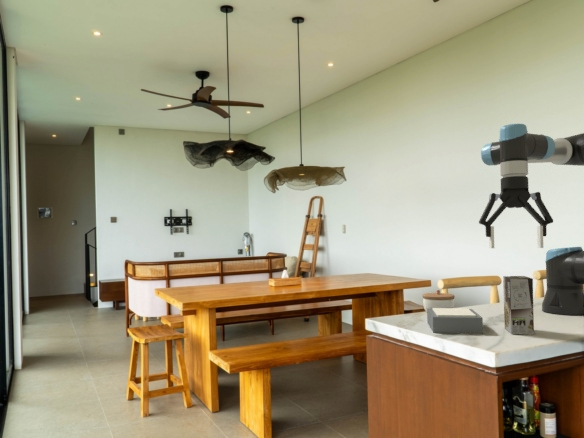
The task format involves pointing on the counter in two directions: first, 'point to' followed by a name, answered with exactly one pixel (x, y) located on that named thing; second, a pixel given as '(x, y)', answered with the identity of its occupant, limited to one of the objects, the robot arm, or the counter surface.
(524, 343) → the counter surface
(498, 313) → the counter surface
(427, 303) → the lidded jar
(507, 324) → the coffee box
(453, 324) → the dock
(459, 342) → the counter surface
